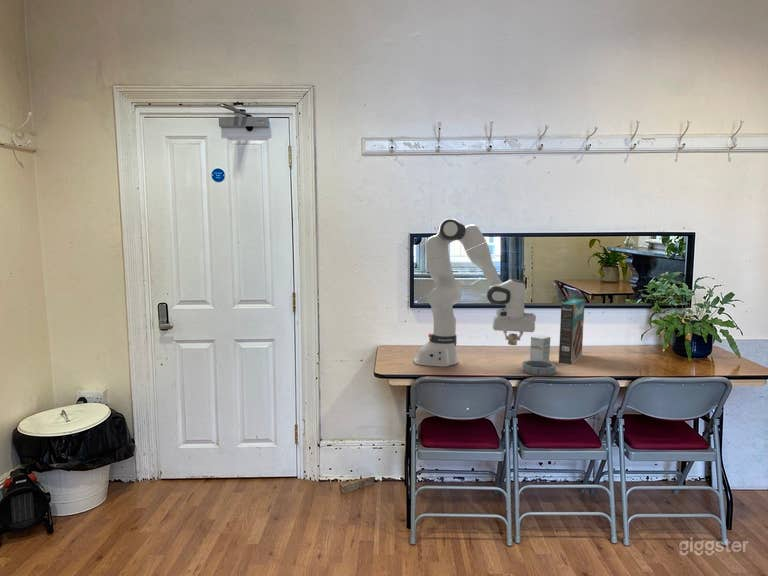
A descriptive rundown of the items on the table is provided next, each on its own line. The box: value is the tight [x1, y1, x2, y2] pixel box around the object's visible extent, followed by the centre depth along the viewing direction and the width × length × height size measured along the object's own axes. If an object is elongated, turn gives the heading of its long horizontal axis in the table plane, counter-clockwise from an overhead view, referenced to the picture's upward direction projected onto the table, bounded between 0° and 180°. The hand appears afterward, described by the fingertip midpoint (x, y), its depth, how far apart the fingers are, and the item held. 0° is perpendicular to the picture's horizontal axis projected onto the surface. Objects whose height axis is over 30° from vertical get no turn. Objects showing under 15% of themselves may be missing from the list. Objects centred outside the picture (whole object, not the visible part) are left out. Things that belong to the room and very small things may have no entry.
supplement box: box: [529, 334, 551, 362], centre depth 272 cm, size 7×7×13 cm
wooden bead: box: [507, 332, 518, 346], centre depth 263 cm, size 4×4×5 cm
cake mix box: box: [558, 298, 586, 365], centre depth 275 cm, size 22×6×30 cm, turn 146°
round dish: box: [521, 359, 557, 377], centre depth 253 cm, size 15×15×4 cm
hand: (512, 339), depth 263 cm, fingers closed on wooden bead, 4 cm apart
